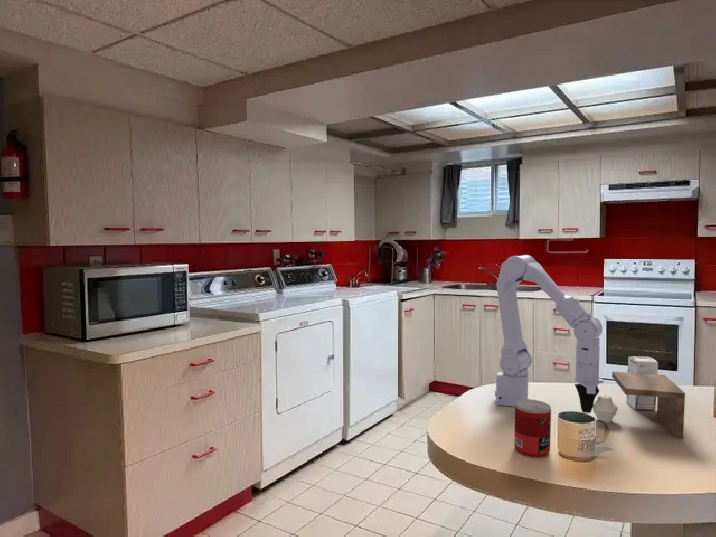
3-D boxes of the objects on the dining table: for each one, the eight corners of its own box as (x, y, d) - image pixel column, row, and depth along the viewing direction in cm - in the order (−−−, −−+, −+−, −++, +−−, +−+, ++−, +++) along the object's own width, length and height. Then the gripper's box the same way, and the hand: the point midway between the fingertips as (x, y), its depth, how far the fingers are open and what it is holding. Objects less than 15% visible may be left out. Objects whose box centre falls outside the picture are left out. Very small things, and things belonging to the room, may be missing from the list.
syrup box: (646, 403, 146) (648, 355, 145) (656, 411, 140) (658, 360, 139) (626, 403, 146) (627, 355, 145) (635, 410, 140) (637, 360, 139)
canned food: (546, 461, 109) (547, 413, 109) (510, 453, 114) (510, 406, 113) (553, 448, 116) (554, 402, 115) (518, 441, 120) (519, 397, 119)
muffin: (594, 423, 131) (595, 397, 130) (589, 415, 137) (590, 390, 136) (619, 425, 129) (620, 399, 129) (614, 417, 135) (615, 392, 135)
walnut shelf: (624, 433, 124) (625, 388, 124) (611, 411, 140) (612, 371, 139) (683, 438, 121) (685, 393, 120) (662, 415, 136) (664, 374, 135)
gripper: (609, 370, 125) (607, 423, 126) (598, 357, 139) (597, 404, 140) (579, 368, 127) (577, 420, 128) (571, 355, 141) (570, 401, 142)
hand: (586, 411), depth 134 cm, fingers closed, pressing on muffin
